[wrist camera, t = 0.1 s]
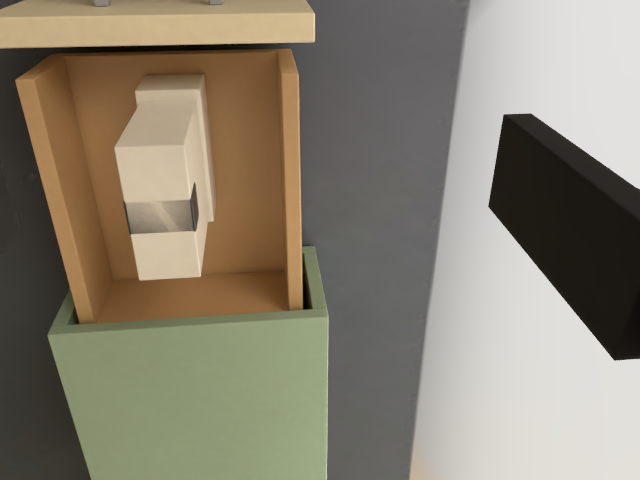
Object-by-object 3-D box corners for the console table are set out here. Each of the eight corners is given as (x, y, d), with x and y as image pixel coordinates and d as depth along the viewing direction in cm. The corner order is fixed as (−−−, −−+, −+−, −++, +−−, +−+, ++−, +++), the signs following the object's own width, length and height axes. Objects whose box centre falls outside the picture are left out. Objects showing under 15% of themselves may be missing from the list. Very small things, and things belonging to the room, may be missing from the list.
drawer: (1, -106, 25) (-60, -111, 20) (302, -105, 26) (314, -109, 21) (94, 282, 36) (68, 342, 31) (306, 270, 37) (315, 325, 32)
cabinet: (83, 257, 36) (46, 335, 29) (314, 245, 37) (328, 316, 30) (130, 448, 44) (109, 541, 38) (315, 433, 46) (326, 519, 39)
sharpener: (144, 74, 29) (105, 134, 21) (204, 73, 29) (188, 131, 21) (163, 199, 32) (136, 291, 24) (216, 197, 32) (206, 286, 25)
